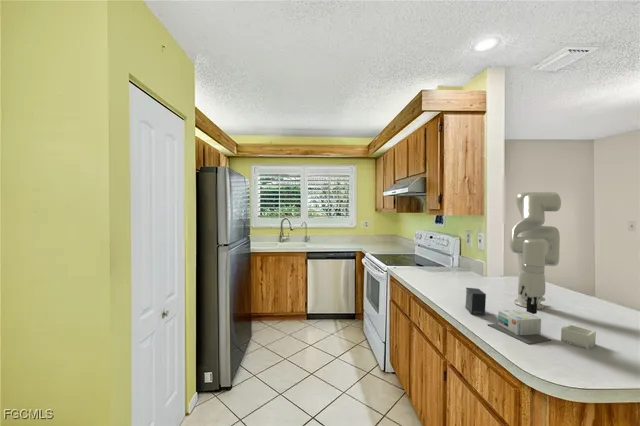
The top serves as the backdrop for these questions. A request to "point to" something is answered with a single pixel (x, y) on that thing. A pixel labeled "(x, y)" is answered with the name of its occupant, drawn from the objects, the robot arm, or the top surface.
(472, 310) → the small box
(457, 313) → the top surface
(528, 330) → the light bulb box
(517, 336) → the mat
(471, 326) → the top surface
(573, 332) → the grey tub
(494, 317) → the top surface
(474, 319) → the top surface
